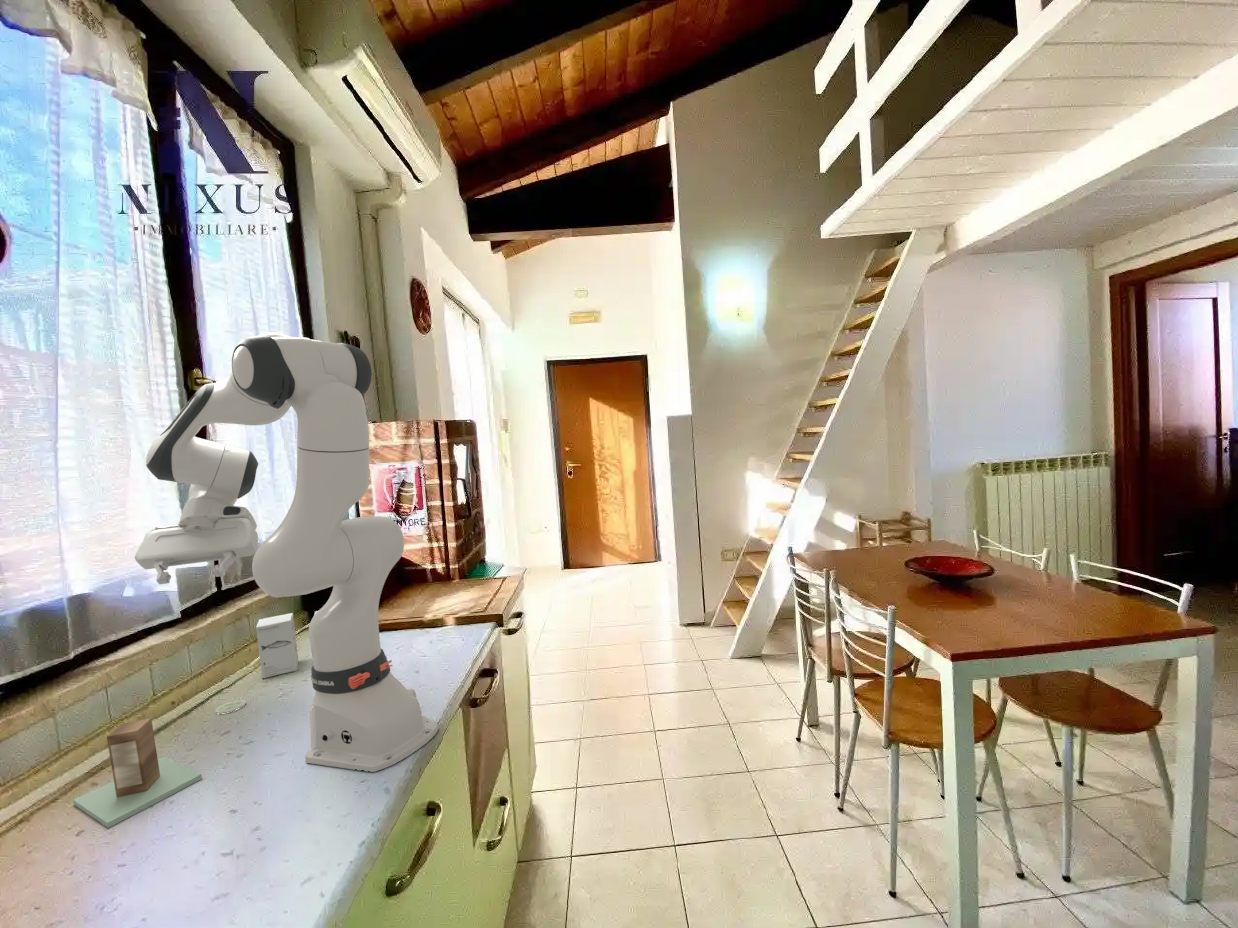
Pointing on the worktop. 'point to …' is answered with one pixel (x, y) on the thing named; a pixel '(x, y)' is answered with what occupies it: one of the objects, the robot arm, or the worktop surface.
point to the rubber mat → (115, 809)
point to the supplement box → (277, 645)
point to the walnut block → (133, 757)
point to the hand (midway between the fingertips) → (190, 578)
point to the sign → (231, 706)
